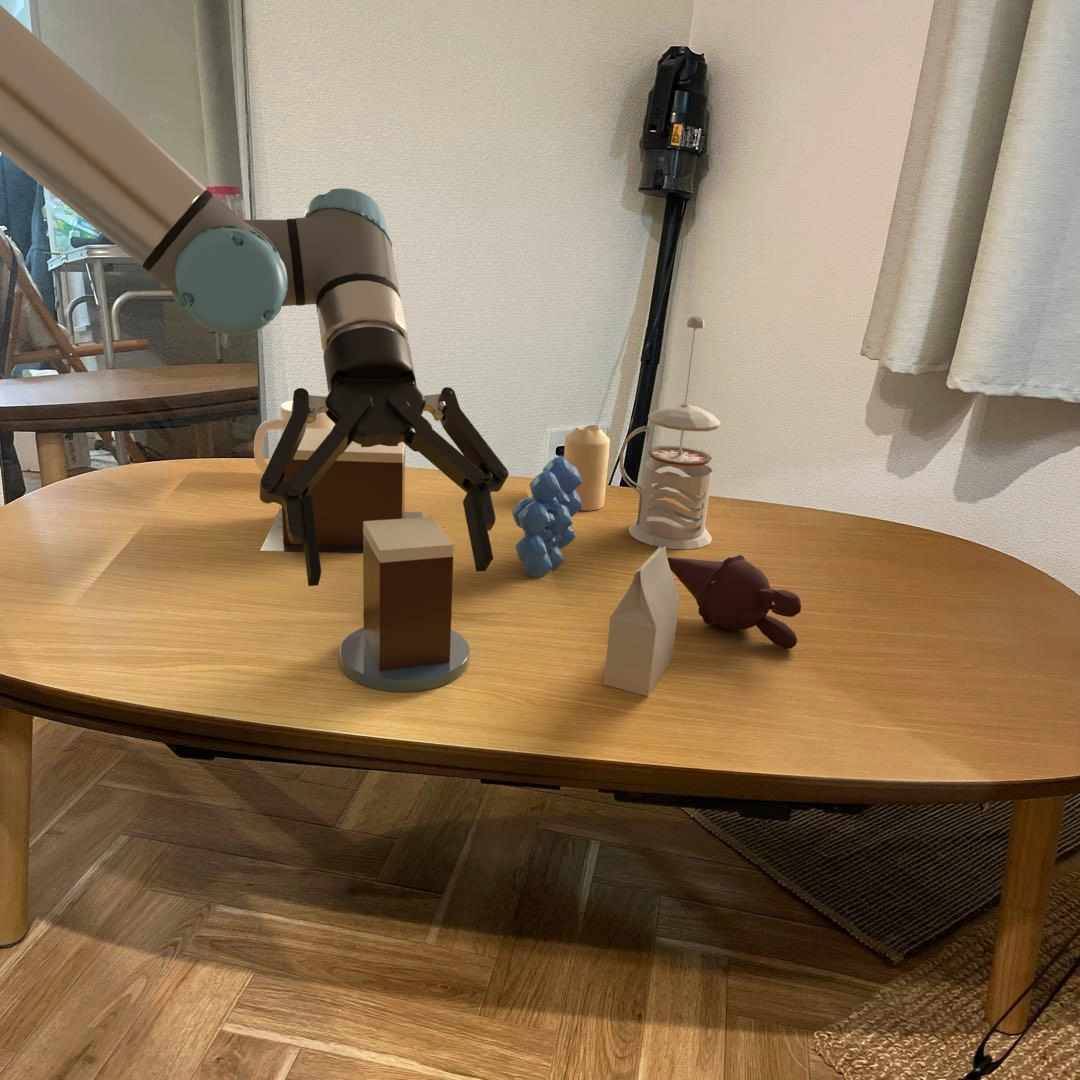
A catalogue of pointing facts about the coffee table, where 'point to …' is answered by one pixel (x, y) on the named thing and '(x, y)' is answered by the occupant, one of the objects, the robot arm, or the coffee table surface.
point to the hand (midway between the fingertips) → (402, 572)
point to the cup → (281, 424)
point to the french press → (675, 478)
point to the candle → (589, 463)
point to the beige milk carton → (643, 628)
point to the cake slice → (407, 592)
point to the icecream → (738, 596)
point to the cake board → (276, 545)
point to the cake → (352, 488)
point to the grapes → (548, 517)
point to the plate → (366, 672)
